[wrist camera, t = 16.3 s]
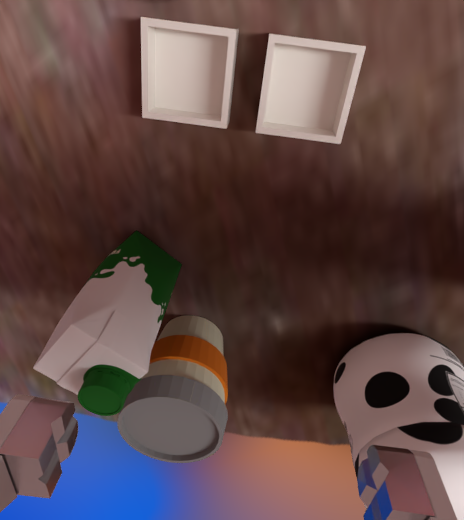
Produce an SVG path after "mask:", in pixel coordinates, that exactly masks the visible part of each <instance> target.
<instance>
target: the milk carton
mask: <svg viewBox="0 0 464 520" xmlns="http://www.w3.org/2000/svg"><path fill="white" fill-rule="evenodd" d="M181 266H182V264H181V263H180V262H178V261H177V260H176V259H174V258H173V257H172V256H170V255H169V254H168V253H166V252H165V251H164V250H162V249H161V248H160V247H158V246H157V245H156V244H154V243H153V242H152V241H150V240H149V239H148V238H146V237H145V236H144V235H142V234H141V233H140V232H138V231H137V230H136V231H135V232H134V233H133V234H132V235H131V236H130V237H129V238H127V239H126V240H125V241H124V242H123V243H122V244H121V245H120V246H118V247H117V248H116V249H115V250H114V251H113V252H112V253H111V254H109V255H108V256H107V257H106V258H105V260H104V261H103V262H102V263H101V264H100V265H99V266H98V267H97V269H96V270H95V271H94V272H93V274H92V275H91V277H90V278H89V279H88V281H87V282H86V284H85V285H84V286H83V288H82V289H81V291H80V292H79V293H78V295H77V296H76V298H75V299H74V300H73V302H72V303H71V305H70V306H69V308H68V309H67V311H66V312H65V314H64V315H63V317H62V318H61V320H60V321H59V323H58V325H57V326H56V328H55V330H54V332H53V333H52V335H51V337H50V339H49V341H48V342H47V344H46V346H45V348H44V350H43V351H42V353H41V355H40V357H39V359H38V360H37V362H36V364H35V365H34V367H33V369H35V370H37V371H39V372H40V373H42V374H44V375H46V376H48V377H49V378H51V379H53V380H55V381H56V382H57V384H58V385H60V386H61V387H63V388H65V389H68V390H70V391H72V392H74V393H75V394H77V395H78V400H79V402H80V404H81V405H82V406H83V407H84V408H85V409H87V410H88V411H90V412H92V413H95V414H98V415H103V416H110V415H114V414H117V413H119V412H120V411H121V410H122V408H123V406H124V403H125V401H126V398H127V396H128V394H129V393H130V392H131V391H132V389H133V388H134V386H135V384H136V383H138V382H139V381H140V380H141V379H142V377H143V376H144V375H145V374H146V373H147V372H148V369H149V362H150V356H151V351H152V348H153V345H154V342H155V339H156V337H157V334H158V331H159V328H160V325H161V323H162V320H163V317H164V314H165V312H166V309H167V306H168V303H169V300H170V298H171V295H172V292H173V289H174V286H175V283H176V280H177V277H178V274H179V271H180V268H181Z"/></svg>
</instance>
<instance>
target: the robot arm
mask: <svg viewBox="0 0 464 520" xmlns="http://www.w3.org/2000/svg"><path fill="white" fill-rule="evenodd" d="M74 412H75V406H74V403H73V402H66V401H59V400H52V399H46V398H39V397H34V396H27V395H20V394H17V395H16V396H14V397H13V398H12V399H11V400H10V401H9V403H8V404H7V406H6V407H5V408H4V410H3V411H2V413H1V414H0V512H1V511H2V510H3V509H4V508H6V507H7V506H8V505H9V504H10V503H11V502H12V501H13V500H14V499H15V498H16V497H17V495H25V496H34V497H42V498H50V497H51V495H52V493H53V491H54V489H55V486H56V484H57V482H58V480H59V478H60V476H61V474H62V470H61V465H60V463H61V462H62V461H64V460H65V459H66V458H68V457H69V456H70V454H71V452H72V450H73V447H74V445H75V442H76V438H77V434H78V422H77V420H76V419H75V418H74V417H73V414H74ZM367 456H368V458H367V459H365V460H363V461H362V462H361V464H360V466H359V468H358V477H357V481H358V490H359V496H360V498H361V500H362V501H363V502H364V504H365V505H366V506H367V509H366V511H365V514H364V516H363V517H364V520H457V517H456V515H455V512H454V510H453V507H452V505H451V502H450V499H449V497H448V494H447V492H446V489H445V487H444V484H443V481H442V479H441V476H440V474H439V471H438V469H437V466H436V463H435V461H434V458H433V457H432V455H431V454H430V453H428V452H423V451H415V450H408V449H404V448H396V447H388V446H379V445H371V446H369V448H368V450H367Z"/></svg>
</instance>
